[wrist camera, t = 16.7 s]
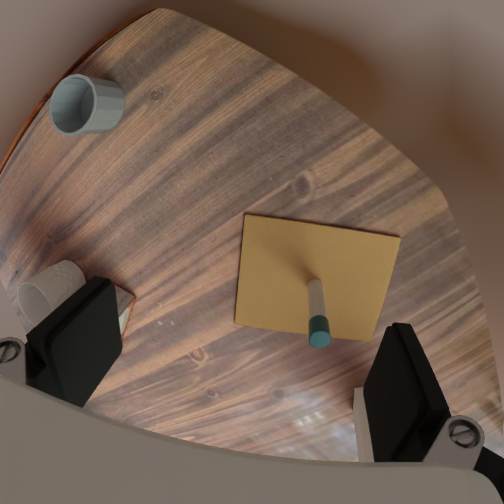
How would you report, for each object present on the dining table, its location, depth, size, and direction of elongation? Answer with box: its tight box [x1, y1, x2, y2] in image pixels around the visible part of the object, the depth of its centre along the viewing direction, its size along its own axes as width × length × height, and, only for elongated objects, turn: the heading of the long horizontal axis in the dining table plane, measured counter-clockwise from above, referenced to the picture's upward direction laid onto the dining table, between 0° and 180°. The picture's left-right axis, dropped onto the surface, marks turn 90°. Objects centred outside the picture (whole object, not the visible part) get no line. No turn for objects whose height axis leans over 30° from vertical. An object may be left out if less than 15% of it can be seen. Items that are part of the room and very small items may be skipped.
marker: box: [307, 279, 331, 348], centre depth 36 cm, size 2×2×12 cm
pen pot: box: [49, 74, 125, 136], centre depth 34 cm, size 8×8×7 cm
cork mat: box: [235, 214, 401, 341], centre depth 42 cm, size 16×20×1 cm
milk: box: [353, 387, 374, 462], centre depth 38 cm, size 6×6×22 cm
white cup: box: [17, 260, 86, 327], centre depth 43 cm, size 8×8×10 cm
